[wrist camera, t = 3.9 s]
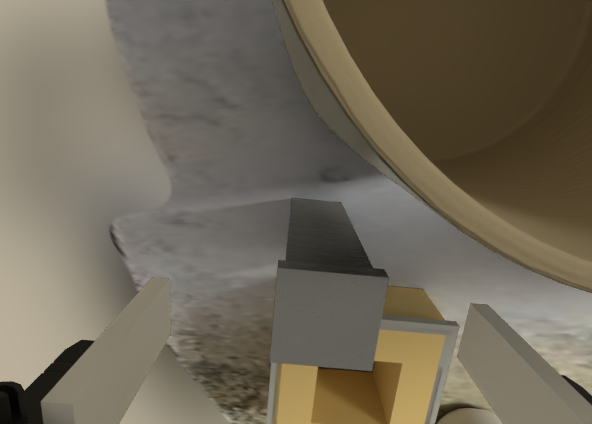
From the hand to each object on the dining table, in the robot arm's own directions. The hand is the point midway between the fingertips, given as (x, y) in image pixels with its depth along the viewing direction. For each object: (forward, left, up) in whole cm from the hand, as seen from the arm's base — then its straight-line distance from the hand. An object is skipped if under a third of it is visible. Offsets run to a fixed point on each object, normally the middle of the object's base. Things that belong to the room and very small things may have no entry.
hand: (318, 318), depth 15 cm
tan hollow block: (+11, +4, -14) cm, 18 cm away
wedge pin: (0, 0, -14) cm, 14 cm away
